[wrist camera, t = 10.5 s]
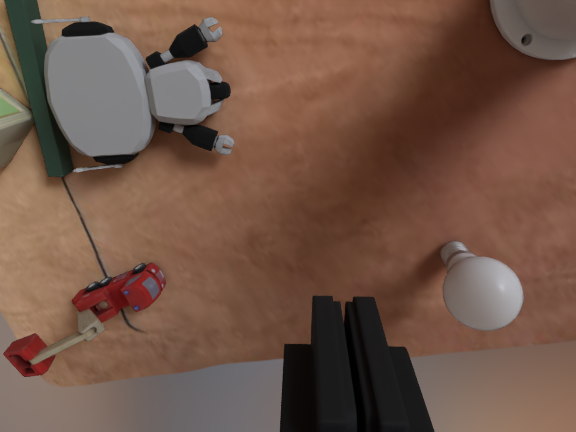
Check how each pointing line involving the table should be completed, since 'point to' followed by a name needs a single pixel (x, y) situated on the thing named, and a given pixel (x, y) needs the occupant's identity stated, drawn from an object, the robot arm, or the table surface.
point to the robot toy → (130, 91)
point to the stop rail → (38, 84)
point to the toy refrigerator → (12, 126)
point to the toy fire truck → (90, 315)
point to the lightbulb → (479, 289)
